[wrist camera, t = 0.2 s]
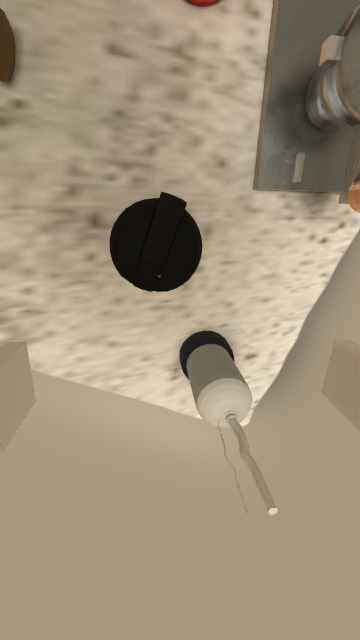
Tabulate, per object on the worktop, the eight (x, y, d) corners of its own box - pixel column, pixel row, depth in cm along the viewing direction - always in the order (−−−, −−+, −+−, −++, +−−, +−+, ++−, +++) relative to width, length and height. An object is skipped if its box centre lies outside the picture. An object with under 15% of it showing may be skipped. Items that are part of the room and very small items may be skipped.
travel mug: (184, 219, 36) (221, 214, 17) (167, 266, 38) (184, 308, 19) (139, 200, 34) (125, 173, 16) (124, 250, 36) (95, 279, 18)
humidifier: (236, 364, 44) (334, 524, 21) (190, 384, 45) (235, 562, 21) (220, 322, 41) (310, 451, 18) (171, 343, 42) (197, 497, 18)
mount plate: (275, -18, 29) (315, -97, 22) (411, -1, 30) (489, -68, 23) (253, 189, 35) (278, 181, 28) (365, 194, 37) (415, 187, 30)
